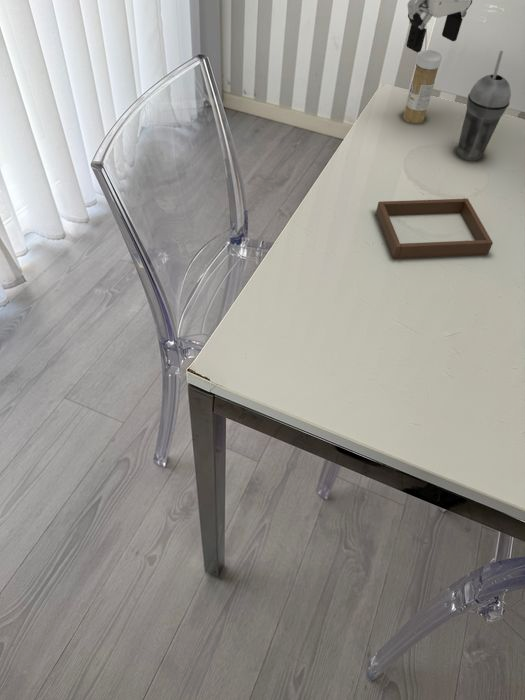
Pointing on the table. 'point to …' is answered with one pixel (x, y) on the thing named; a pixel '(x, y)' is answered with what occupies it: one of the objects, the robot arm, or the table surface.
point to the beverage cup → (483, 113)
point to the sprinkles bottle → (422, 85)
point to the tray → (433, 248)
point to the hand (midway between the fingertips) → (431, 43)
